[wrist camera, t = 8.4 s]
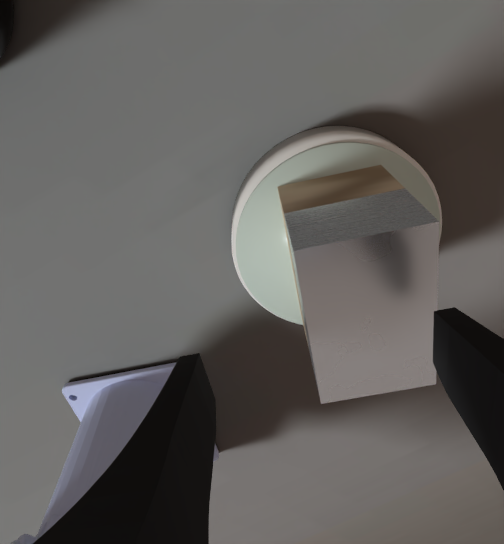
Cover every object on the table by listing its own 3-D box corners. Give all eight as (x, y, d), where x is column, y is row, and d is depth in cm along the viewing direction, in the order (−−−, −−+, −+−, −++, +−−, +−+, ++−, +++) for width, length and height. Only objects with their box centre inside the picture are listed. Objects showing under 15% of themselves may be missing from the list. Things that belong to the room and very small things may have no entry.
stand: (424, 284, 24) (443, 310, 22) (254, 318, 25) (256, 345, 23) (423, 103, 19) (447, 113, 17) (209, 152, 20) (206, 167, 18)
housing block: (380, 164, 18) (439, 221, 13) (388, 297, 22) (436, 384, 16) (277, 186, 18) (293, 250, 13) (300, 314, 22) (320, 403, 17)
